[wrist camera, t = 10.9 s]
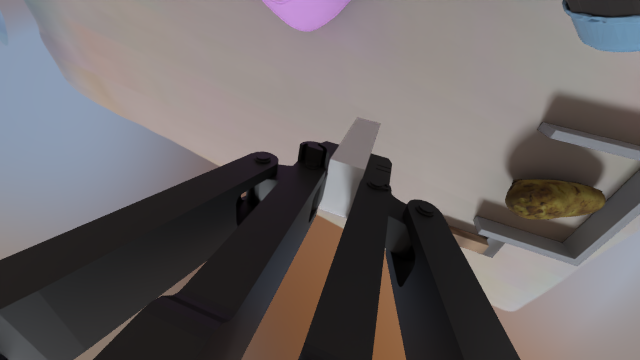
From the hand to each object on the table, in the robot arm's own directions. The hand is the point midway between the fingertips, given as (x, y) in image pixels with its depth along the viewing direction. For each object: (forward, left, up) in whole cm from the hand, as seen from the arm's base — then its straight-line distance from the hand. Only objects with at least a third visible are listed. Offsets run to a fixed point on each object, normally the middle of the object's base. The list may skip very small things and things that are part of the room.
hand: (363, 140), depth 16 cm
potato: (+11, +30, -30) cm, 43 cm away
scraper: (+26, +24, -30) cm, 46 cm away
